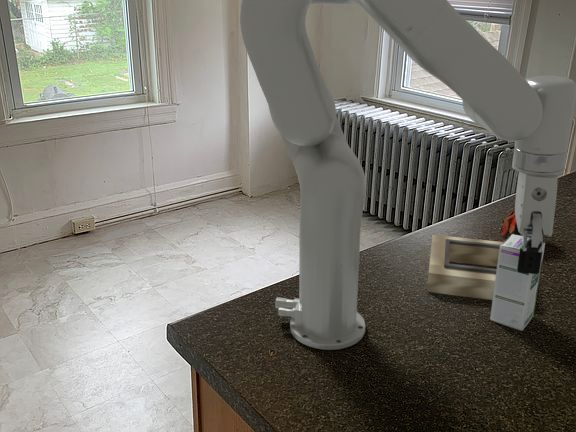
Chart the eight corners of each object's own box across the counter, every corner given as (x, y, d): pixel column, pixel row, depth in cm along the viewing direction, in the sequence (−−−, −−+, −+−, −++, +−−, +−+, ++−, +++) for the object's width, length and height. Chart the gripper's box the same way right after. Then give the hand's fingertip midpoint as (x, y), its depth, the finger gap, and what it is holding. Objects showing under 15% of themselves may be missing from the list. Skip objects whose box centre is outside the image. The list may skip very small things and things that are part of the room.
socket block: (426, 291, 111) (428, 269, 109) (430, 251, 126) (432, 232, 124) (523, 303, 107) (527, 281, 105) (515, 261, 122) (518, 240, 120)
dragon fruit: (539, 243, 133) (506, 265, 127) (513, 214, 135) (480, 234, 130) (563, 224, 126) (529, 246, 120) (535, 193, 128) (501, 214, 123)
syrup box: (523, 332, 99) (537, 254, 93) (488, 320, 102) (499, 244, 96) (533, 316, 103) (547, 241, 97) (499, 305, 106) (511, 232, 100)
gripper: (575, 179, 82) (556, 286, 89) (557, 144, 98) (543, 237, 104) (517, 176, 84) (504, 281, 91) (509, 142, 99) (498, 234, 106)
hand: (524, 258), depth 98 cm, fingers open, 9 cm apart
